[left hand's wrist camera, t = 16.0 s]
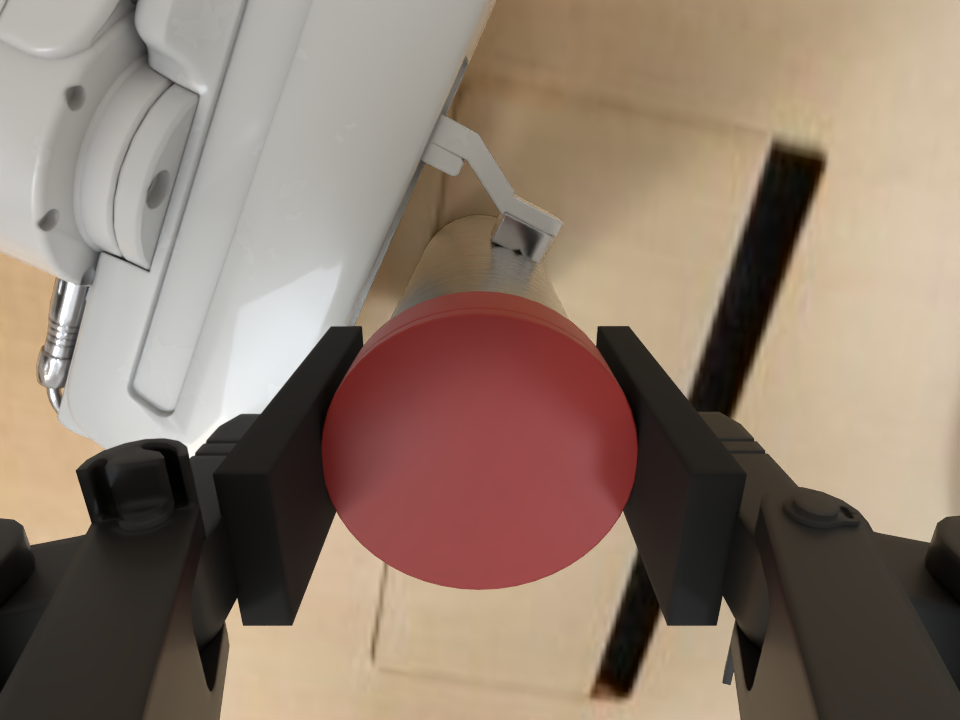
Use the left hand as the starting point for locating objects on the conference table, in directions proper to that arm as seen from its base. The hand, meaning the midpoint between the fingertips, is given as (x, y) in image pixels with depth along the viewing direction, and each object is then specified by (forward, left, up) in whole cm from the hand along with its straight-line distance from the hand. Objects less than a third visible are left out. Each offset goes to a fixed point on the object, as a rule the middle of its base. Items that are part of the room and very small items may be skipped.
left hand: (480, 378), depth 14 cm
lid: (0, 0, +4) cm, 4 cm away
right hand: (-1, 0, -5) cm, 5 cm away
